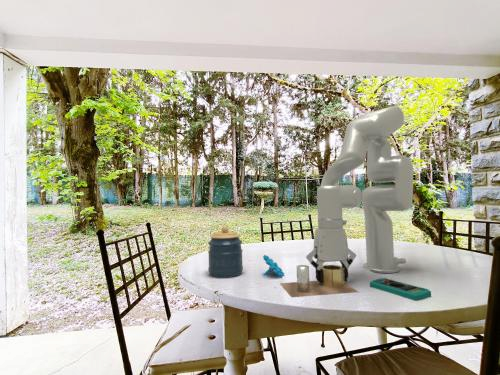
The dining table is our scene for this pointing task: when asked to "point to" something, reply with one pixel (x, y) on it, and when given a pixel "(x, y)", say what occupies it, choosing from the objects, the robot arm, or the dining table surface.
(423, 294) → the digital multimeter
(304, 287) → the piston post
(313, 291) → the board
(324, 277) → the ring
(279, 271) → the gear
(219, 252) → the canister
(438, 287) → the dining table surface
